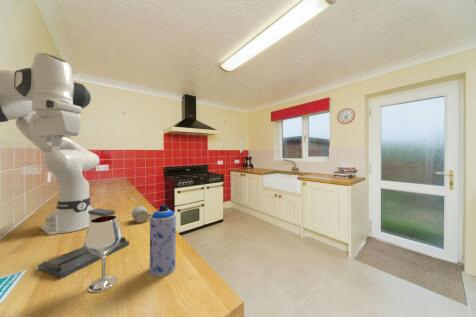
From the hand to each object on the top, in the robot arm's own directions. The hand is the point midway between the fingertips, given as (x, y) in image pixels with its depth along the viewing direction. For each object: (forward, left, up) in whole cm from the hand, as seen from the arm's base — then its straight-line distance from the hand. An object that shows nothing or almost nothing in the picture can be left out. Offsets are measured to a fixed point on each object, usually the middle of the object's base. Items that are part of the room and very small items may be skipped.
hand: (53, 151), depth 54 cm
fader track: (+3, +8, -37) cm, 38 cm away
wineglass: (+23, +1, -37) cm, 44 cm away
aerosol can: (+33, +12, -37) cm, 51 cm away
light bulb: (-9, +41, -37) cm, 57 cm away
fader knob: (+3, +12, -35) cm, 38 cm away
